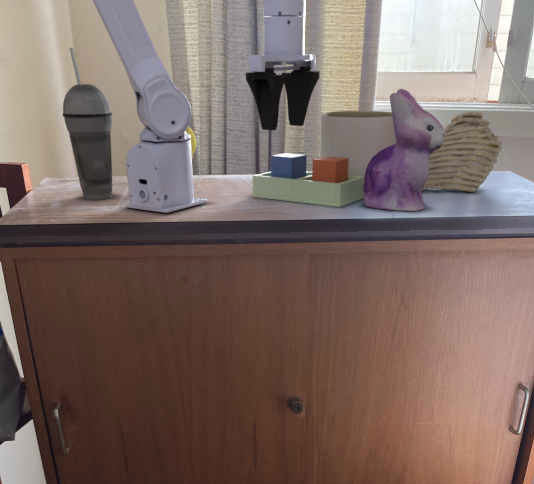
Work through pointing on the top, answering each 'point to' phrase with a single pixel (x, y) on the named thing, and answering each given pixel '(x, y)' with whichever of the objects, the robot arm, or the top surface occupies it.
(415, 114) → the figurine
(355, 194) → the tray
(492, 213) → the top surface
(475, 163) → the fossil tooth
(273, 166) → the blue block
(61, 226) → the top surface
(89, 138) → the beverage cup
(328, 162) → the terracotta block
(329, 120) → the planter
